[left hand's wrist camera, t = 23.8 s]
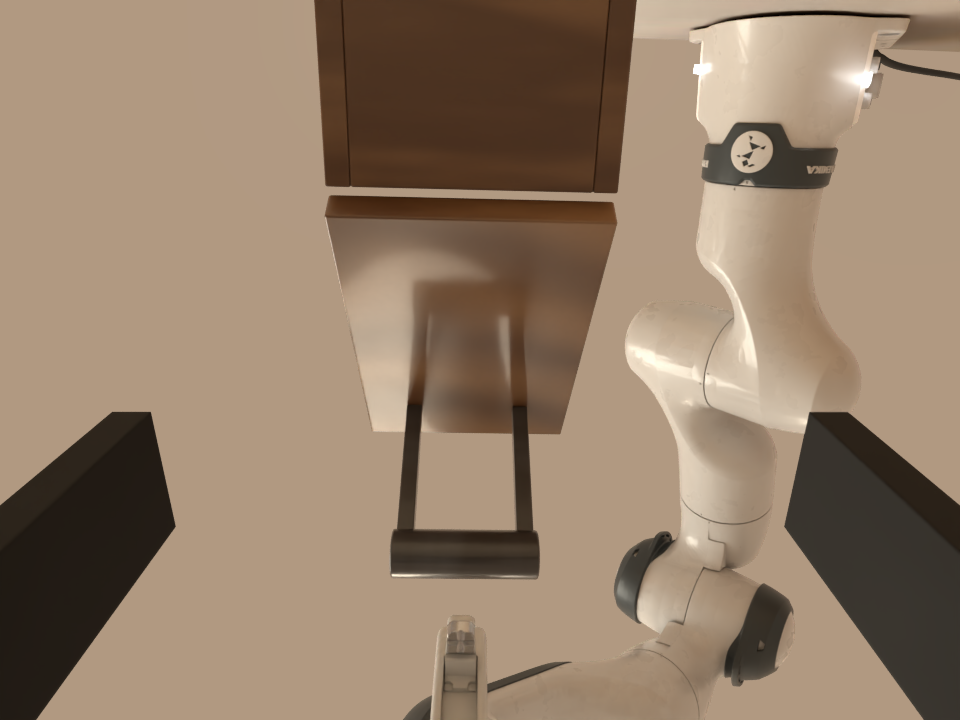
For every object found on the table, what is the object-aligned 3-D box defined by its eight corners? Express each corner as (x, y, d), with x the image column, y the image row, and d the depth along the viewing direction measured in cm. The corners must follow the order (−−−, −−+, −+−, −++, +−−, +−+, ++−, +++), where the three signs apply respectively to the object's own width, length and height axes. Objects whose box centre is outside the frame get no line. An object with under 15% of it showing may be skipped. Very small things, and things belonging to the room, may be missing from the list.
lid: (558, 416, 33) (573, 595, 28) (373, 413, 33) (353, 593, 27) (614, 201, 21) (657, 436, 16) (328, 194, 21) (277, 431, 16)
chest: (579, -87, 30) (561, 166, 34) (372, -95, 29) (379, 161, 33) (661, -243, 17) (618, 193, 21) (298, -257, 17) (325, 186, 21)
